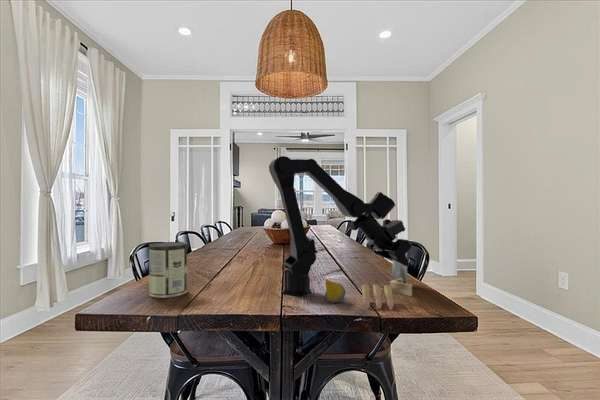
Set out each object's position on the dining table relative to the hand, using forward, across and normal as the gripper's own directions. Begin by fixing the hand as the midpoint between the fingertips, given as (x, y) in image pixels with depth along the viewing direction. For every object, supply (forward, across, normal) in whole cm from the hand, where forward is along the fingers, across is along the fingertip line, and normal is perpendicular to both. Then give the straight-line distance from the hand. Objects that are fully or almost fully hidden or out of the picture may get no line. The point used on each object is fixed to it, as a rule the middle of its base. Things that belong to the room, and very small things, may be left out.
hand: (403, 264), depth 114 cm
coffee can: (-45, +10, +55) cm, 72 cm away
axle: (+4, 0, +6) cm, 7 cm away
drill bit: (-16, -12, +25) cm, 32 cm away
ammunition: (-8, -17, +18) cm, 27 cm away
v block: (0, -7, +9) cm, 12 cm away
